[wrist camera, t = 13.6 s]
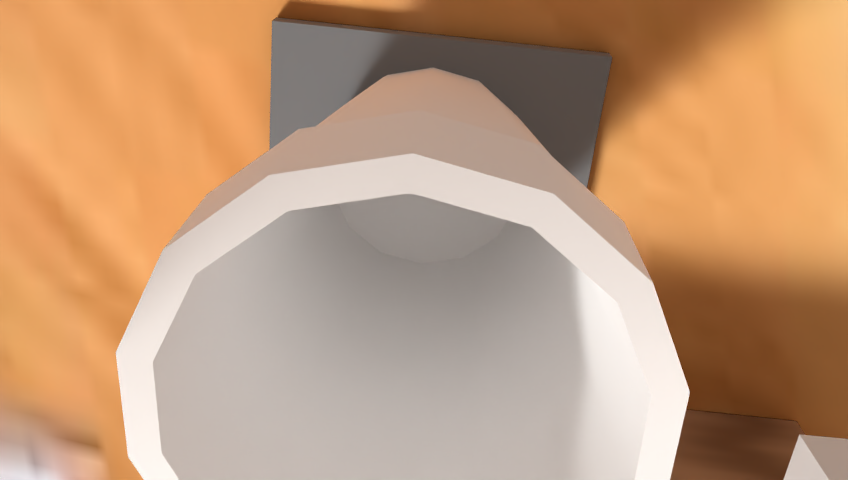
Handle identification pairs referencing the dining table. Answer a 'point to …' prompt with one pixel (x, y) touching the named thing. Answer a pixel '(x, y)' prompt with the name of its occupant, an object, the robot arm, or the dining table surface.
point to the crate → (734, 447)
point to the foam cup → (402, 311)
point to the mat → (473, 58)
